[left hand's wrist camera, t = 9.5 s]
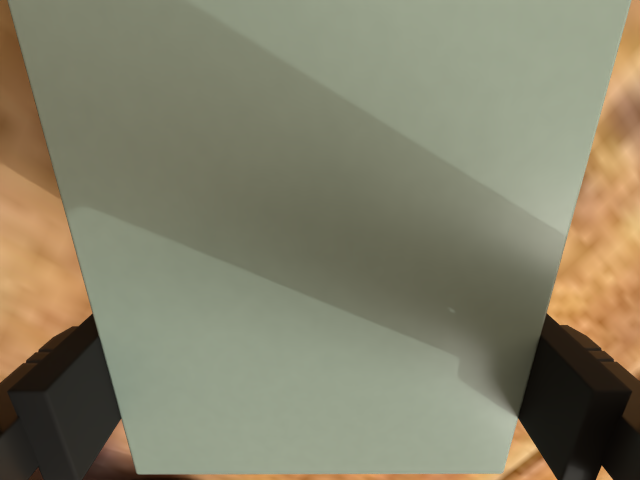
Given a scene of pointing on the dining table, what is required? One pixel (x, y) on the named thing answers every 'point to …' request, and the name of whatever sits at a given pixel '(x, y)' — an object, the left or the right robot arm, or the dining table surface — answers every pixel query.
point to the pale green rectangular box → (319, 216)
